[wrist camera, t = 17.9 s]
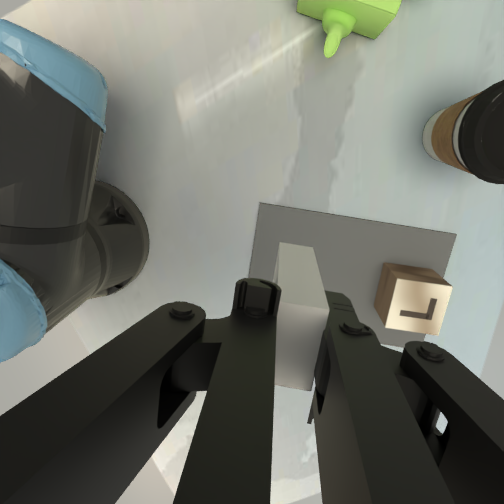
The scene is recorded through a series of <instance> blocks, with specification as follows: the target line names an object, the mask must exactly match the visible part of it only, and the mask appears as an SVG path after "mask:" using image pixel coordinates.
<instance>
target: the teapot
mask: <svg viewBox="0 0 504 504" xmlns="http://www.w3.org/2000/svg"><path fill="white" fill-rule="evenodd" d="M401 1H402V0H298V4H297V12H299V13H301V14H304V15H307V16H310V17H313V18H316V19H318V20H321V21H322V26H323V29H324V31H325V32H326V34H327V37H326V41H325V45H324V55H325V57H327V58H330V57H332V56H333V55H334V54H335V52H336V50H337V49H338V47H339V44H340V41H341V39H342V38H345V37H347V36H348V35H349V34H350V33H351V31H352V32H355V33H358V34H361V35H364V36H366V37H369V38H372V39H376V38H377V37H378V36H379V35H380V33H381V32H382V31H383V30H384V29H385V28H386V27H387V25H388V24H389V23H390V22H391V21H392V20H393V19H394V18H395V16H396V14H397V12H398V9H399V6H400V4H401Z"/></svg>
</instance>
